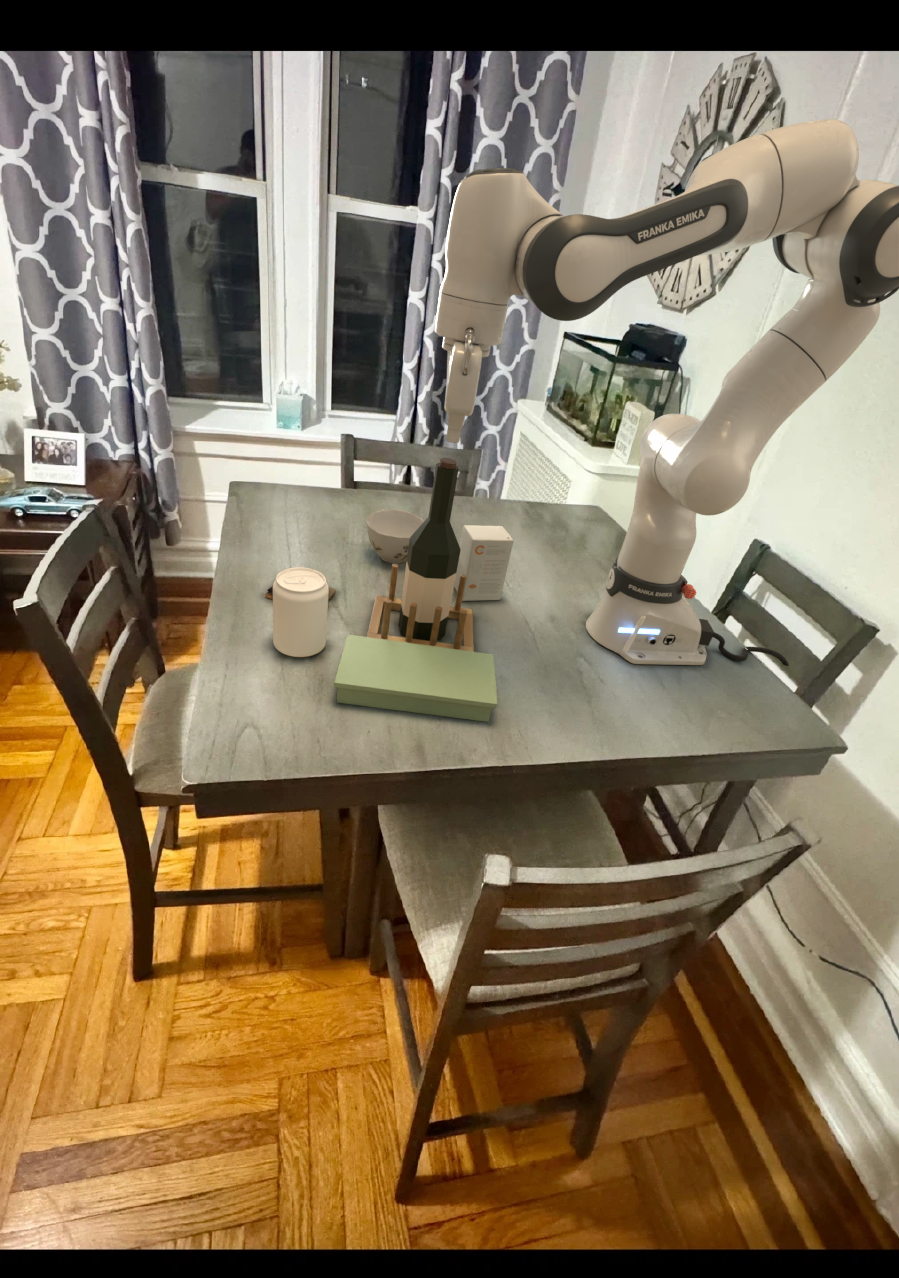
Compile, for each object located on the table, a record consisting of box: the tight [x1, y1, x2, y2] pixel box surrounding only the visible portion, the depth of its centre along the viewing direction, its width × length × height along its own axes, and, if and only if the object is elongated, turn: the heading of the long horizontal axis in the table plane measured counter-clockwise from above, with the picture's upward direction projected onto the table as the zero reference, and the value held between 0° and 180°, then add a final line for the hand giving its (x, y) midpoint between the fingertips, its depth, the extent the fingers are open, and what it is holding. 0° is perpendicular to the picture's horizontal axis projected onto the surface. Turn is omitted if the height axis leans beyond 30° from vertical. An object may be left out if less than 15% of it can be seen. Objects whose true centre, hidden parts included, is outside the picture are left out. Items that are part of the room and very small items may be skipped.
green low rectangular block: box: [333, 634, 498, 723], centre depth 90 cm, size 23×12×4 cm, turn 89°
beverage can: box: [272, 566, 330, 658], centre depth 92 cm, size 8×8×12 cm
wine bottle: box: [398, 457, 461, 642], centre depth 96 cm, size 8×8×30 cm
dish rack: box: [366, 563, 475, 652], centre depth 102 cm, size 18×14×9 cm
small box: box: [454, 524, 515, 602], centre depth 115 cm, size 8×6×13 cm
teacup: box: [365, 509, 425, 565], centre depth 123 cm, size 15×12×8 cm
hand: (452, 431), depth 85 cm, fingers open, 8 cm apart
